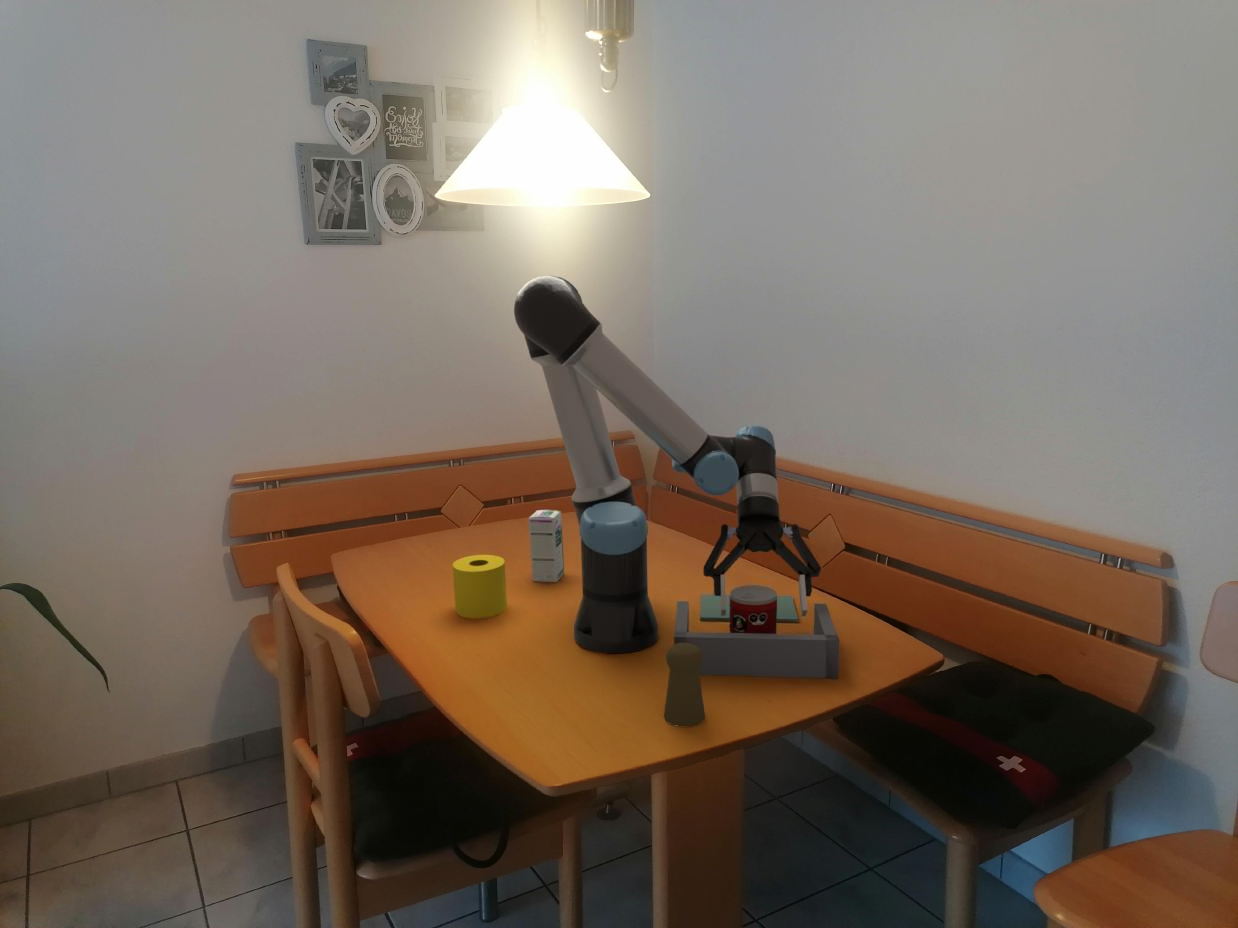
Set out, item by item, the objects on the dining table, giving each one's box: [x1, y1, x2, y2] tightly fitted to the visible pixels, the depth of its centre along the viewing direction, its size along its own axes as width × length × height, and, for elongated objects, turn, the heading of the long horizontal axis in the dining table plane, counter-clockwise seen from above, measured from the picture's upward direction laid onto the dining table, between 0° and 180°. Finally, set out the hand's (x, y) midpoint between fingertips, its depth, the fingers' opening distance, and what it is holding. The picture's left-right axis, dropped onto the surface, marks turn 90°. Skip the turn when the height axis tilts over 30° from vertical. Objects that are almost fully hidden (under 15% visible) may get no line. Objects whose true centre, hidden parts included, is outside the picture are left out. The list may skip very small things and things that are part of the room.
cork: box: [663, 643, 706, 727], centre depth 123 cm, size 6×6×11 cm
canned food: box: [729, 584, 778, 634], centre depth 144 cm, size 8×8×11 cm
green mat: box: [699, 593, 799, 623], centre depth 164 cm, size 18×12×1 cm, turn 84°
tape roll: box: [452, 554, 508, 619], centre depth 167 cm, size 10×10×9 cm
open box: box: [673, 600, 840, 679], centre depth 143 cm, size 26×16×6 cm, turn 84°
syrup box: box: [528, 509, 565, 583], centre depth 183 cm, size 6×6×14 cm
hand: (763, 613), depth 145 cm, fingers open, 13 cm apart
